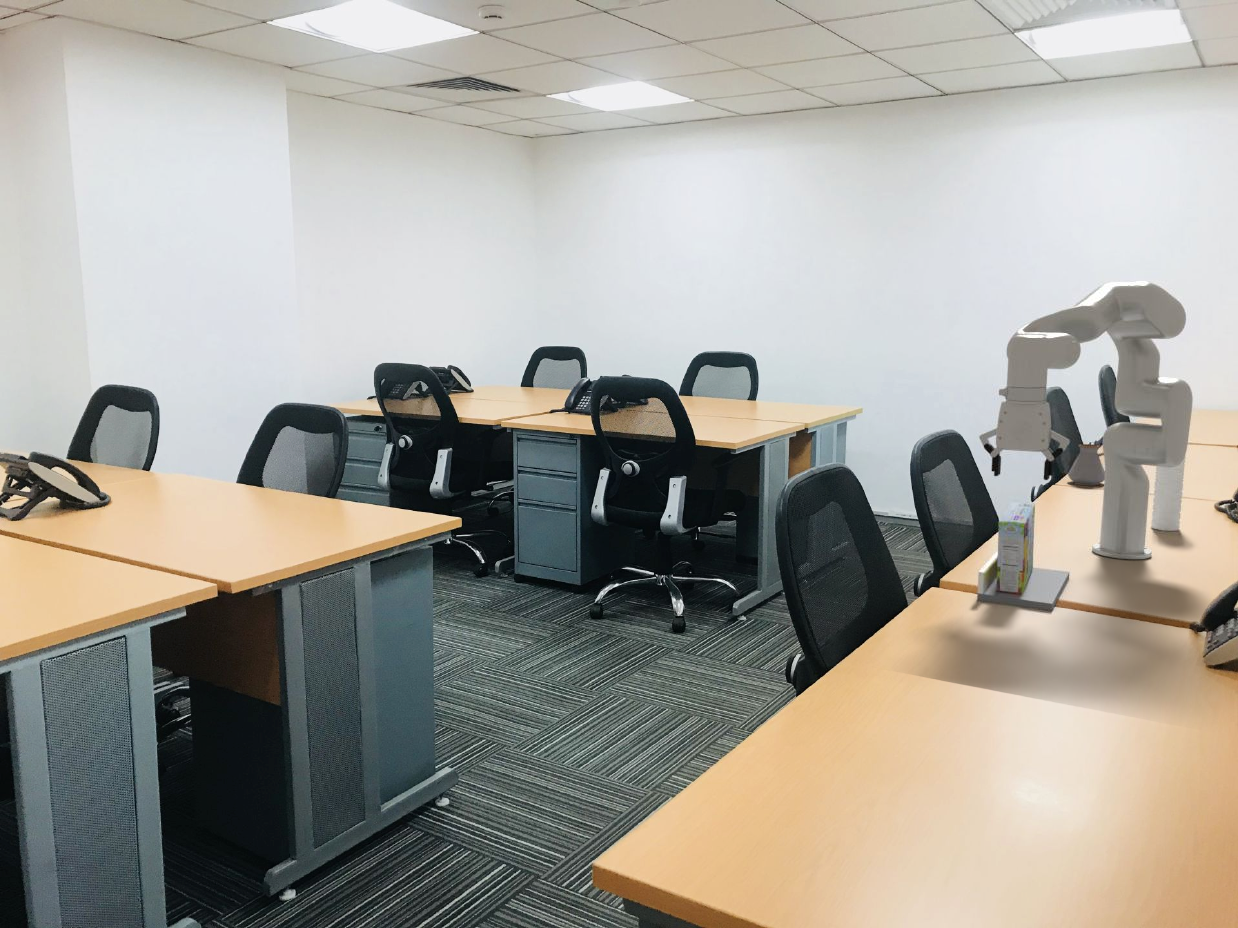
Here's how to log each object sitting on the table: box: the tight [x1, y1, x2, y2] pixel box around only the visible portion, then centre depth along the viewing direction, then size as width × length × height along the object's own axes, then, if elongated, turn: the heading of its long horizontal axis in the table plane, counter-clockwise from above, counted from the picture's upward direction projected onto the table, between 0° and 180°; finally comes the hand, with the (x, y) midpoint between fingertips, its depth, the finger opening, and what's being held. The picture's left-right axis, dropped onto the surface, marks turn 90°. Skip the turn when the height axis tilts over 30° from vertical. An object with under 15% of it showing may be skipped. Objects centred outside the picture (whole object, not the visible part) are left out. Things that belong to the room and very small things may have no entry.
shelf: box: [976, 549, 1071, 612], centre depth 199 cm, size 26×14×6 cm, turn 148°
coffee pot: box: [1067, 443, 1105, 486], centre depth 311 cm, size 21×12×15 cm, turn 56°
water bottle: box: [1150, 457, 1186, 532], centre depth 250 cm, size 9×6×25 cm
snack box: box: [996, 501, 1036, 594], centre depth 199 cm, size 21×6×15 cm, turn 151°
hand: (1021, 477), depth 197 cm, fingers open, 9 cm apart
